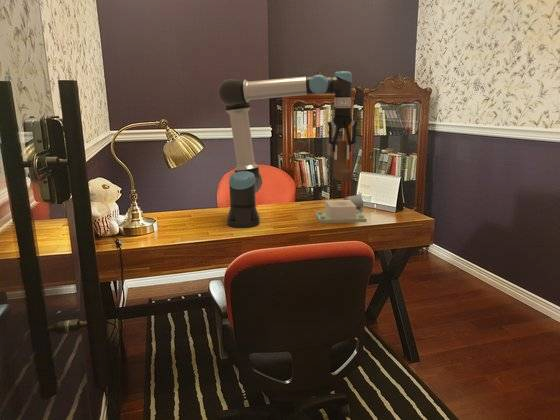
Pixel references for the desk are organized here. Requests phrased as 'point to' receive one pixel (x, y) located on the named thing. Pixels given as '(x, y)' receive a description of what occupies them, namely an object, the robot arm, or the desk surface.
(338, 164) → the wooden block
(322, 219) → the tower base
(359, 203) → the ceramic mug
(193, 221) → the desk surface
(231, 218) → the robot arm
